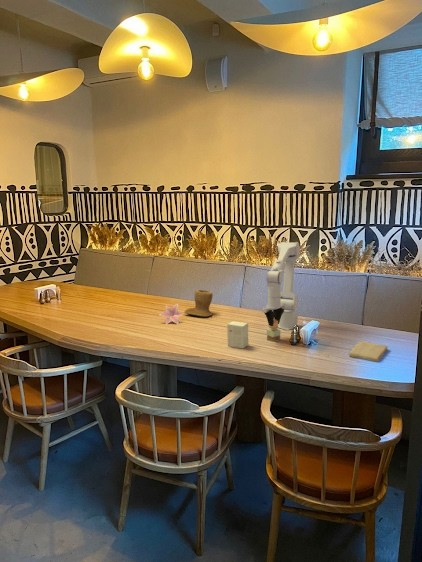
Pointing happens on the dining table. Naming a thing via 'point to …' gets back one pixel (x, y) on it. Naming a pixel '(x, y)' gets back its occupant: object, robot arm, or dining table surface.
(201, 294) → the brown boot
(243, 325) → the small box
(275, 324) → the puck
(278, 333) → the tower top
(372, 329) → the dining table surface
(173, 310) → the lily
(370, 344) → the washcloth
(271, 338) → the tower base
